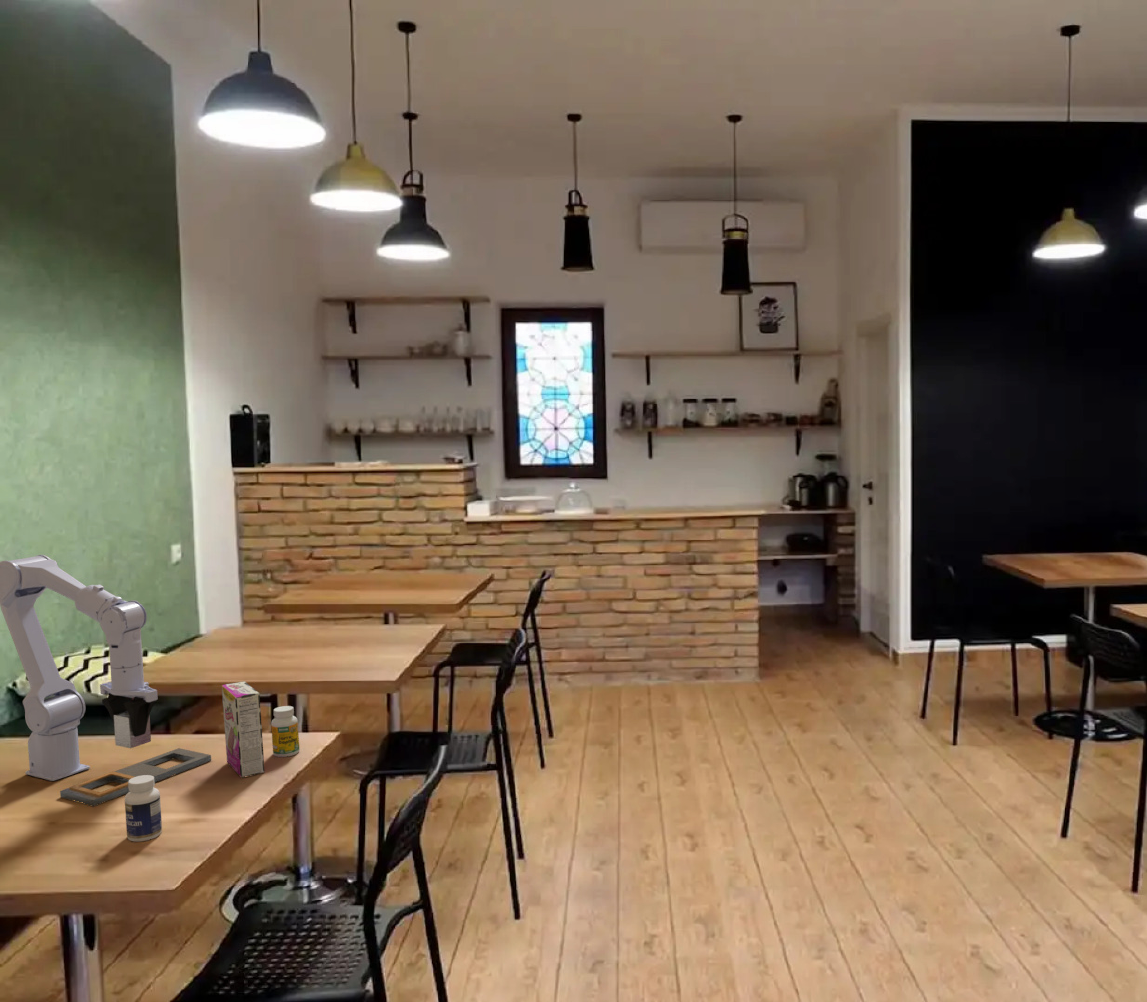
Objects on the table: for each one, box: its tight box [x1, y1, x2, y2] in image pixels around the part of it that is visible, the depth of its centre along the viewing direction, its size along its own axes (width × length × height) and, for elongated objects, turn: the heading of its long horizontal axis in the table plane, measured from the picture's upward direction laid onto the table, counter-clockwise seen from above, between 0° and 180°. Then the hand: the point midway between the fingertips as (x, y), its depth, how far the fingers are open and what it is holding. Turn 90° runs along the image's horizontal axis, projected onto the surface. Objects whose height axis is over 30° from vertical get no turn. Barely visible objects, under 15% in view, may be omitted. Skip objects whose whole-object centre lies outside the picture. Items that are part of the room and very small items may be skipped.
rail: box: [59, 747, 212, 807], centre depth 185 cm, size 10×26×2 cm, turn 151°
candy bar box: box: [221, 680, 266, 778], centre depth 188 cm, size 11×5×16 cm, turn 34°
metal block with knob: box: [113, 711, 152, 749], centre depth 183 cm, size 4×4×6 cm
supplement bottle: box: [270, 705, 300, 758], centre depth 196 cm, size 5×5×10 cm
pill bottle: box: [124, 775, 163, 842], centre depth 157 cm, size 5×5×10 cm
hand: (131, 733), depth 183 cm, fingers closed on metal block with knob, 4 cm apart
